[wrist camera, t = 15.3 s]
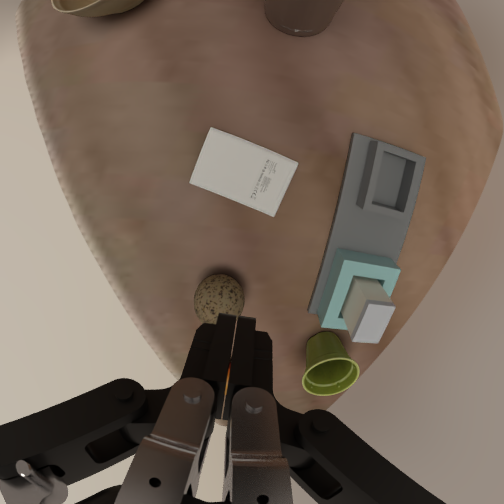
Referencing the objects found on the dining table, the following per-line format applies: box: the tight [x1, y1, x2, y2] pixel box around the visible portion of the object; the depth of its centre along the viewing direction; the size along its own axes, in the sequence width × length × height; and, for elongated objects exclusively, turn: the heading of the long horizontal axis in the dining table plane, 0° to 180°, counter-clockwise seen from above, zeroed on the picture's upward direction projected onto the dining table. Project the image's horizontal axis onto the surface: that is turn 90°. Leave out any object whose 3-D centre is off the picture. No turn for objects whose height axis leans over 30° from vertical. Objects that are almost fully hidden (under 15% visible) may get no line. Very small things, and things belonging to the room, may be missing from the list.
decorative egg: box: [194, 274, 244, 324], centre depth 38 cm, size 7×7×10 cm
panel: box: [307, 133, 426, 330], centre depth 36 cm, size 28×12×5 cm, turn 171°
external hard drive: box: [189, 127, 298, 217], centre depth 36 cm, size 2×8×12 cm
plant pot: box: [302, 332, 360, 396], centre depth 43 cm, size 9×9×9 cm
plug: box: [341, 275, 396, 343], centre depth 36 cm, size 6×4×10 cm, turn 171°
